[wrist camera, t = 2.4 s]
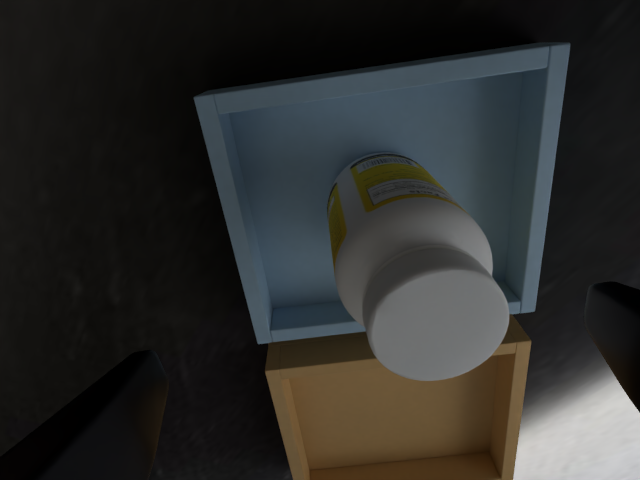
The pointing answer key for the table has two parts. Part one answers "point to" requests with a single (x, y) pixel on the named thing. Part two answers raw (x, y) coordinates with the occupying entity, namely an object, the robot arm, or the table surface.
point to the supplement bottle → (413, 269)
